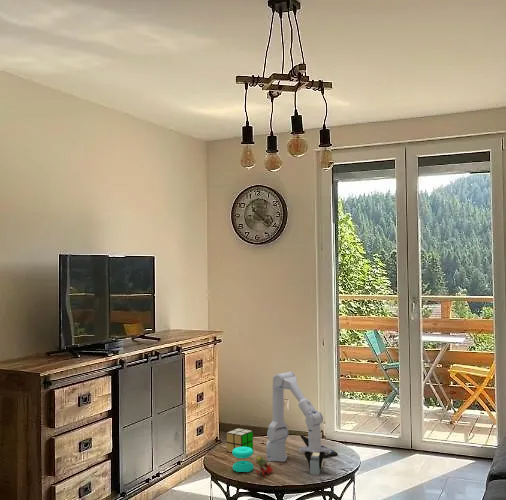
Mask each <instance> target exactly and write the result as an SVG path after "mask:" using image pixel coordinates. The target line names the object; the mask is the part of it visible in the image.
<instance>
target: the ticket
mask: <svg viewBox="0 0 506 500" xmlns="http://www.w3.org/2000/svg"><path fill="white" fill-rule="evenodd" d="M319 454H320V453H311V457H312V456H319ZM324 462H325V458H323V461H322V466H321V470H322V469H323V465H324Z"/></svg>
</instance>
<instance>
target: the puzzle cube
mask: <svg viewBox="0 0 506 500" xmlns="http://www.w3.org/2000/svg"><path fill="white" fill-rule="evenodd" d="M253 436H254V433H253V430H249V429H244V428H238V427H237V428H235V429H232V430H230V431H228V432H226V451H227V450H229V451H233V449H234V448H237V447H250V448H252V449H253V450H254V441H253V440H254V437H253Z"/></svg>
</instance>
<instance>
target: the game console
mask: <svg viewBox="0 0 506 500" xmlns="http://www.w3.org/2000/svg"><path fill="white" fill-rule="evenodd" d="M300 438H301V439H302V441H303V442H304V444H305V445H306V447H309V440H308V437H306V436H304V435H302V434H301V435H300ZM321 447H324V448H328V447H327V446H324V445H321ZM311 454H313V452H311ZM338 455H339V454H338V452H336V451H335V450H332V449H331V453H330V454H329V453H325V456H324V459H325V458H330V457H337V456H338Z"/></svg>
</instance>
